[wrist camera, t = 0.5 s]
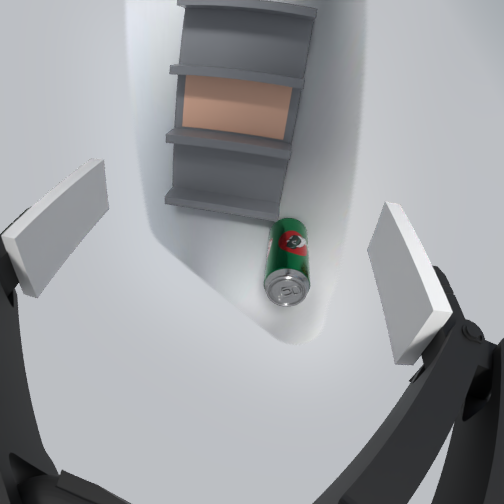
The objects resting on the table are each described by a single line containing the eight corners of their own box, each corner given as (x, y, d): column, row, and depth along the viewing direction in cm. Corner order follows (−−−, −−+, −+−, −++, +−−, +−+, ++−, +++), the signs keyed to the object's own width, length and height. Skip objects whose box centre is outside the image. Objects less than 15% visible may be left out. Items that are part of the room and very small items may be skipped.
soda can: (264, 221, 43) (256, 280, 33) (300, 211, 41) (303, 269, 32) (277, 250, 45) (271, 312, 36) (311, 242, 44) (315, 303, 34)
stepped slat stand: (188, 1, 27) (177, -4, 24) (314, 13, 27) (317, 8, 23) (174, 190, 41) (165, 203, 38) (278, 207, 41) (277, 221, 38)
